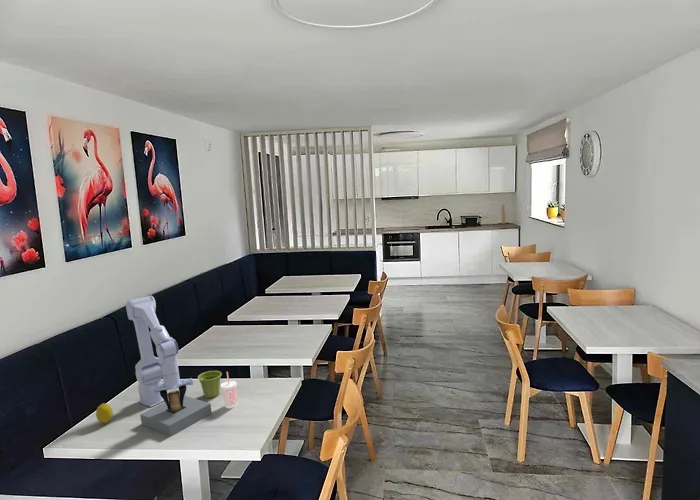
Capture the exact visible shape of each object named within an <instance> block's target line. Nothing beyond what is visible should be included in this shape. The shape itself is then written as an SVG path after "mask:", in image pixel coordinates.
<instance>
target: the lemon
mask: <svg viewBox="0 0 700 500" xmlns="http://www.w3.org/2000/svg"><path fill="white" fill-rule="evenodd" d="M95 416H96V419H97V421H98V422H99V423H104V424H107V423H108V422H109V421H110V420H112V418H113V408H112V406H111V405H110V404H109V403H104V402H103V403H101V404H100V405H99V406H97V409H96V412H95Z"/></svg>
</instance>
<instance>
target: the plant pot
mask: <svg viewBox="0 0 700 500" xmlns="http://www.w3.org/2000/svg"><path fill="white" fill-rule="evenodd" d="M221 376H222V372H221V371H219V370H208V371H205V372H202V373H200V374H199V375H198V376H197V379H198V381H199V382H200V385H201V388H202V392H203V396H204V397H205V398H206V399H209V398H216V397H218V396H219V395H220V391H221V390H220V389H221V378H222V377H221Z"/></svg>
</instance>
